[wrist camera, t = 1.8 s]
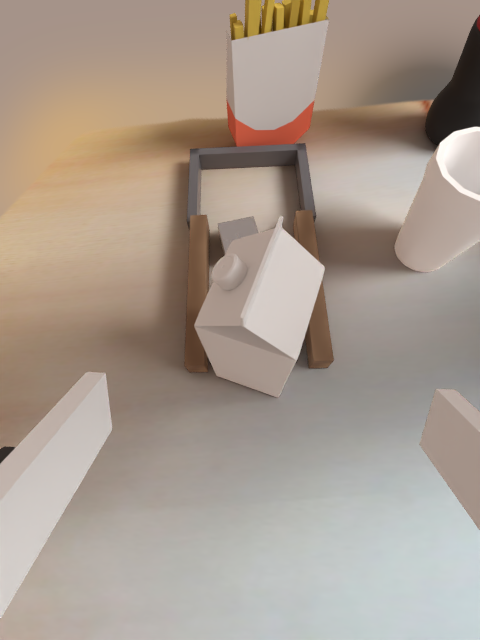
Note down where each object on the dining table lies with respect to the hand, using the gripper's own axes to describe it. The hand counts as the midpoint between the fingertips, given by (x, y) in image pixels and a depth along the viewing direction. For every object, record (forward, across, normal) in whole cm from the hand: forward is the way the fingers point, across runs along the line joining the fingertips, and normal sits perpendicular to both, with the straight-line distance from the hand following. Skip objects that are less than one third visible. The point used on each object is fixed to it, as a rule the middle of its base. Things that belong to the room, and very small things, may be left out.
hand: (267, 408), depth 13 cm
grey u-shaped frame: (+37, -1, +8) cm, 38 cm away
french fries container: (+44, +1, +16) cm, 47 cm away
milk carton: (+21, +1, -8) cm, 23 cm away
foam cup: (+30, +21, +3) cm, 37 cm away
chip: (+31, -2, +2) cm, 31 cm away
